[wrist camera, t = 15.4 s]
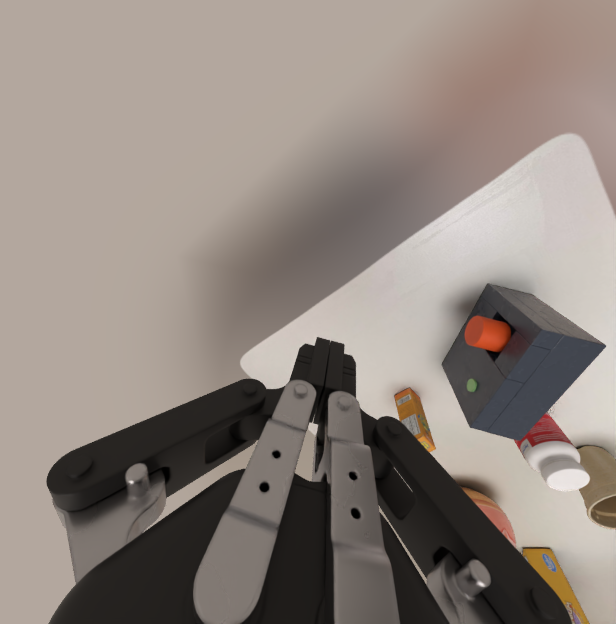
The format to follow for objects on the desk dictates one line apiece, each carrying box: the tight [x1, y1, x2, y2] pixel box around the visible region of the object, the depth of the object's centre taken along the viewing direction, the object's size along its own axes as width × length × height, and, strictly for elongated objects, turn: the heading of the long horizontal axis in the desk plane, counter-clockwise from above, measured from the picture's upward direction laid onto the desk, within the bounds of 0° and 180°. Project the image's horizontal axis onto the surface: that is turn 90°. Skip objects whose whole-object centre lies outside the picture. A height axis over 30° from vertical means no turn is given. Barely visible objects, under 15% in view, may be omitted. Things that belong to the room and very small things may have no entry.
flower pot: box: [577, 446, 616, 530], centre depth 43 cm, size 9×9×9 cm
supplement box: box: [395, 388, 436, 452], centre depth 42 cm, size 3×4×10 cm
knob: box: [465, 316, 511, 352], centre depth 32 cm, size 4×3×4 cm
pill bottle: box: [514, 412, 590, 491], centre depth 40 cm, size 6×6×11 cm
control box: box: [442, 284, 606, 441], centre depth 34 cm, size 14×6×12 cm, turn 168°
